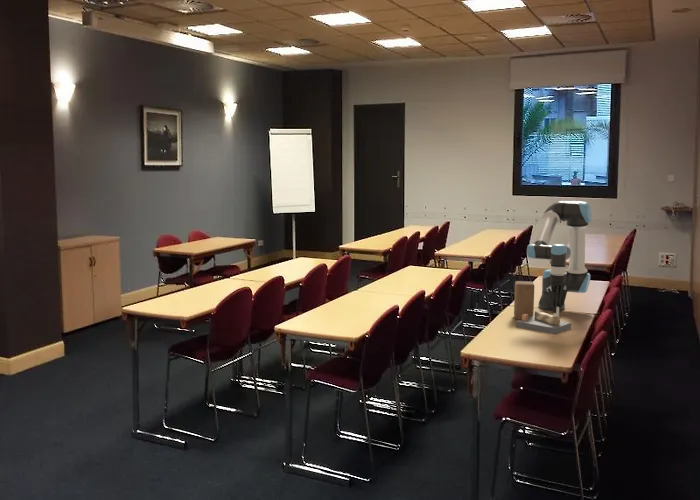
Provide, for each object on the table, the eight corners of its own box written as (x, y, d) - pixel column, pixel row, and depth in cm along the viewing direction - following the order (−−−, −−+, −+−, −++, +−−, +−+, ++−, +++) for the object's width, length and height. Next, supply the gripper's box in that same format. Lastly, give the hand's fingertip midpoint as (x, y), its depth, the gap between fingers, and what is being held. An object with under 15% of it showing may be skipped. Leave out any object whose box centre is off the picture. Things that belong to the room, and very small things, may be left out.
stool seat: (532, 321, 359) (533, 310, 359) (570, 328, 344) (571, 317, 343) (516, 326, 347) (516, 315, 346) (555, 334, 332) (555, 322, 331)
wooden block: (533, 320, 362) (534, 284, 359) (514, 319, 364) (515, 283, 361) (532, 316, 372) (533, 281, 369) (513, 315, 374) (515, 280, 371)
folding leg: (533, 317, 353) (533, 311, 353) (538, 317, 355) (538, 310, 354) (554, 324, 338) (554, 317, 338) (559, 323, 340) (560, 317, 339)
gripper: (563, 272, 346) (562, 316, 349) (542, 273, 342) (541, 318, 345) (573, 274, 339) (571, 319, 342) (551, 276, 335) (549, 321, 338)
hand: (556, 318), depth 343 cm, fingers closed
